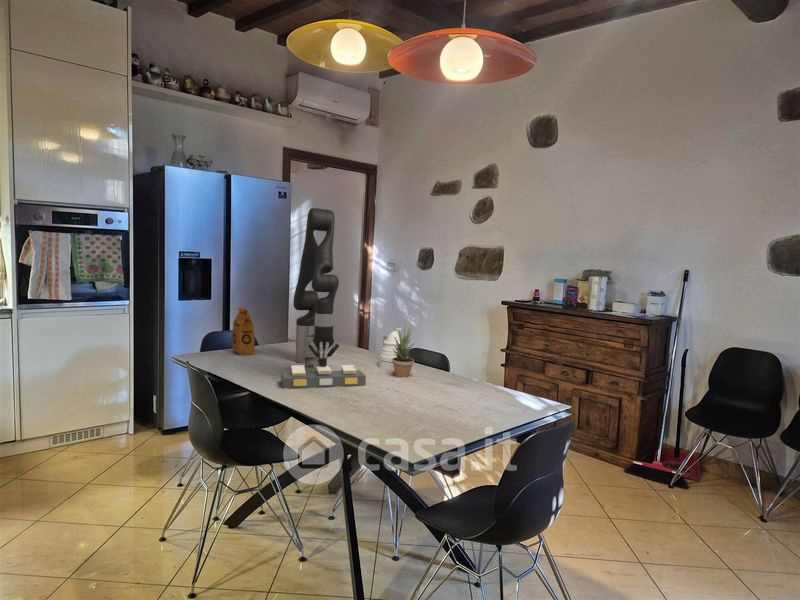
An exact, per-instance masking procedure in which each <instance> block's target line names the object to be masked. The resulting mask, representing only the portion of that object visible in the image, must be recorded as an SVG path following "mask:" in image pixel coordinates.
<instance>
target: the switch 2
mask: <svg viewBox="0 0 800 600" xmlns="http://www.w3.org/2000/svg"><path fill="white" fill-rule="evenodd" d="M316 370H317V372H318V374H331V371H332V369H331V368H330V366H329V365H326V366H325V367H321V366H316Z"/></svg>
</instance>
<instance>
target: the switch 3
mask: <svg viewBox="0 0 800 600" xmlns="http://www.w3.org/2000/svg"><path fill="white" fill-rule="evenodd" d="M340 369H341V370H340V371H342V372H343V374H356V370H357V369H356V368H355V366H354V365H353V364H341V365H340Z"/></svg>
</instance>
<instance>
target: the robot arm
mask: <svg viewBox="0 0 800 600" xmlns="http://www.w3.org/2000/svg"><path fill="white" fill-rule="evenodd" d="M335 221H336V220H335V213H334V211H333V210H330V209H327V208H326V209H324V208H315V207H312V208H310V209H309V210H308V214H307V219H306V227H305V228H306V229H305V237H304V243H303V248H302V254H301V259H300V265H299V271H298V272H299V273H298V278H297V283H296V287H295V289H294V290H295V291H294V296H293V303H292V304H293V308H294V310H296V311H307V313H306V314H305V315H302V316H299V317H298V318H296V323H295V324H296V326H295V329H296V330H295V356H294V357H295V358H294V361H295V362H296V363H299V362H300V364H305V351H306V337H307V336H309V335H312V334H314V339H313V342H312V343H310V344H308V347H309V348H310V350H311V351H312V352H313V354H314V355H315V356H316V357H319V365H320V366H321V367H325V366H328V364H327V363H328V362H327V361H328V358H331V357H332V356H333V355H334V353H335V352H336V351H337V349H339V348H340V345H339V343H337V342H335V339H334V324H335V321H334V306H335V298H336V295H337V291H338V288H339V286H340V285H339V284H340V281H339V278H338V276H337V275H336V274H329V273H331V272H332V271H333V270H334V260H333V259H334V258H333V257H334V256H333V246H334V238H335V236H334V235H335ZM315 231H317V232H325V236H324V238H323V240H322V241H321V242H320V243H319V245H318V243H317V240H316V238H315V233H314V232H315ZM310 283H311V288H312V289H313V290H308V289H307V287H308V286H309V284H310ZM306 289H307V290H306ZM318 293H328V294H327V296H324V297H319V296H318ZM314 344H315V346H316V347H317V348H318V351H319V354H318V353H317V352H316V351H315V350H314V349H313V348H314ZM323 349H324V350H323ZM329 349H330V350H329ZM323 351H324V352H323Z"/></svg>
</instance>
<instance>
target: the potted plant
mask: <svg viewBox="0 0 800 600" xmlns="http://www.w3.org/2000/svg"><path fill="white" fill-rule="evenodd" d="M397 328H398V331H399V333H398V334H399V338H400V344H399V343H398V341H397V340H396V338H395V340H396V343H397V345H396V347H397V346H398V347H397V348H396V347H395V349H396V350H397V352H398V353H397V352H396V351H395V350H394V349H393V348H392V349H393V351H394V352H395V353H396V354H397V355H396V354H395V353H394V352H393V353H394V354H395V355H396V356H397V357H395V358H392V363H393V366H394V370H393V372H394V376H395V377H396V376H397V377H396V378H402V377H405V378H409V377H410V373H411V371H412V367H413V365H415V359H413V358H410V351H411V349H412V348H413V346H414V344H415V342H413V343H412V344H411V345H410V346H409V347H408V345H409V343H410V342H411V339H412V337H411V335H412V332H413V330H411V328H412V325H409V329H408V330H407V322H405V324H404V329H403V330H404V331H403V337H402V333H401V332H400V330H399V328H400V327H397ZM406 331H407V332H406ZM394 337H395V336H394ZM406 357H407V358H406ZM408 376H409V377H408Z"/></svg>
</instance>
